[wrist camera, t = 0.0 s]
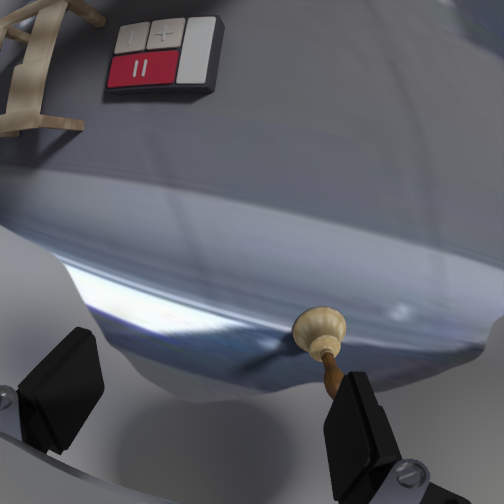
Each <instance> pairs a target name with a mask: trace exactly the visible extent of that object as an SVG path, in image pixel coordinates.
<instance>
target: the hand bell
mask: <svg viewBox="0 0 504 504" xmlns="http://www.w3.org/2000/svg"><path fill="white" fill-rule="evenodd" d="M345 333H346V322H345V319H344V317H343V316H342V315H341V314H340V313H339V312H338V311H337V310H335V309H333V308H330V307H316V308H312V309H310V310H308V311H306V312H304V313H303V314H302V315H301V316H300V317H299V318H298V319H297V321H296V322H295V324H294V328H293V338H294V341H295V342H296V344H297V345H298V346H299V347H300V348H301V349H303V350H304V351H306V352H309V353H310V355H311V357H312V358H313V359H315V360H317V361H320V362H323V365H324V367H325V374H324V384H325V388H326V391H327V393H328V394H329V396H330V397H331V398H332V399H333V400H334V399H335V396H336V394H337V391H338V388H339V386H340V383H341V381H342V378H343V376H344V374H343V373H342V371H341V370H340V369H339V368H338V367H337V365H336V362H335V357H336V356H337V354H338V353H339V351H340V342H341V341H342V340H343V338H344V336H345Z"/></svg>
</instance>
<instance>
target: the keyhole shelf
mask: <svg viewBox="0 0 504 504" xmlns="http://www.w3.org/2000/svg"><path fill="white" fill-rule="evenodd" d="M66 8H67V9H69V10H71V11H72V12H74V13H75V14H77V15H78V16H80V17H82V18H83V19H85V20H86V21H88V22H89V23H91V24H92V25H94V26H95V27H97V28H98V27H102V26H105V23H106V18H105V17H104V16H103V15H101V14H100V13H99V12H97V11H96V10H95V9H93V8H92V7H91V6H89V5H88V4H86V3H85V2H84V1H82V0H38V1H36V2H33V3H31V4H29V5H27V6H25V7H23V8H21V9H19V10H17V11H15V12H13V13H11V14H9V15H7V16H5V17H3V18H1V19H0V51H1V47H2V44H3V41H4V38H5V37H6V38H9V39H12V40H15V41H18V42H21V43H24V44H27V45H28V46H27V49H26V53H25V56H24V60H23V64H20V65H18V66H15V68H14V72H13V76H12V81H11V86H10V91H9V96H8V102H7V108H6V114H3V115H0V137H18V136H19V130H26V129H34V128H50V129H62V130H72V131H83V130H84V122H85V121H82V120H76V119H69V118H63V117H56V116H48V115H40V110H41V104H42V98H43V92H44V87H45V82H46V77H47V73H48V68H49V64H50V60H51V56H52V52H53V48H54V45H55V41H56V38H57V34H58V31H59V28H60V25H61V22H62V19H63V16H64V13H65V10H66ZM36 15H37V18H36V21H35V24H34V27H33V30H32V33H31V34H29V33H26V32H23V31H21V30H18V29H16V28H13V27H11V26H13V25H15V24H17V23H20V22H22V21H24V20H26V19H28V18H31V17H33V16H36Z"/></svg>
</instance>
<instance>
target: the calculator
mask: <svg viewBox="0 0 504 504" xmlns="http://www.w3.org/2000/svg"><path fill="white" fill-rule="evenodd" d="M224 29H225V26H224V24H223V22H222V20H221V18H220V16H218V15H206V16H188V17H176V18H166V19H158V20H150V21H143V22H137V23H131V24H126V25H122V26H121V27H120V29H119V33H118V37H117V41H116V45H115V49H114V54H113V58H112V63H111V68H110V73H109V78H108V83H107V91H108V92H110V93H113V94H116V95H123V94H139V93H163V92H183V93H213V92H214V91H215V85H216V78H217V71H218V65H219V59H220V52H221V46H222V40H223V35H224Z"/></svg>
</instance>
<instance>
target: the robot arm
mask: <svg viewBox="0 0 504 504" xmlns="http://www.w3.org/2000/svg"><path fill="white" fill-rule="evenodd" d="M18 388H19V389H18V390H17V391H15V390H14V389H13V388H12V387H10V386H7V385H0V504H183V503H178V502H174V501H170V500H166V499H162V498H158V497H154V496H150V495H147V494H143V493H140V492H137V491H134V490H130V489H127V488H124V487H121V486H118V485H116V484H113V483H110V482H107V481H104V480H102V479H99V478H97V477H94V476H92V475H89V474H87V473H85V472H82V471H80V470H78V469H76V468H73V467H71V466H69V465H67V464H65V463H63V462H61V461H58V460H56V459H54V458H52V457H50V456H48V455H47V451H48V450H51V451H53V452H55V453H57V454H59V455H61V454H62V452H63V451H64V450H67V449H68V448H69V446H70V445H71V443H72V442H73V440H74V439H75V437H76V435H77V434H78V432H79V431H80V429H81V427H82V426H83V424H84V422H85V421H86V419H87V418H88V416H89V414H90V413H91V411H92V410H93V408H94V407H95V405H96V404H97V402H98V401H99V399H100V398H101V396H102V394H103V392H104V381H103V377H102V372H101V367H100V362H99V356H98V351H97V345H96V339H95V336H94V335H92V332H91V331H90V330H88V329H84V328H81V327H76V328H75V329H74V330H73V331H72V332H70V333H69V335H67V336H66V338H64V339H63V340H62V341H61V342H60V343H59V344H58V345H57V346H56V347H55V348H54V349H53V350H52V351H51V352H50V353H49V354H48V355H47V356H46V357H45V358H44V359H43V360H42V361H41V362H40V363H39V364H38V365H37V366H36V367H35V368H34V369H33V370H32V371H31V373H29V375H28V376H27V377H26V378H25V379H24V380H23V381H22V382H21V383H20V384H19V385H18ZM323 428H324V429H323V430H324V437H325V443H326V450H327V456H328V463H329V470H330V477H331V484H332V491H333V498H334V500H335V501H338V502H339V504H471V503H470V501H469V500H467V499H465V498H463V497H461V496H459V495H457V494H454V493H452V492H450V491H448V490H446V489H444V488H441V487H439V486H437V485H435V484H433V483H431V482H430V472H429V470H428V468H427V467H426V466H425V465H424V464H423V463H422V462H420V461H418V460H415V459H402V457H401V454H400V451H399V448H398V445H397V443H396V440H395V437H394V435H393V432H392V429H391V427H390V424H389V422H388V419H387V417H386V414H385V411H384V409H383V407H382V406H379V405H378V402H377V400H376V397H375V395H374V392H373V390H372V387H371V384H370V382H369V379H368V377H367V375H366V373H365V372H352V371H351V372H349V373H348V375H344V376H343V378H342V381H341V383H340V386H339V388H338V391H337V394H336V396H335V399H334V401H333V403H332V406H331V408H330V411H329V413H328V415H327V418H326V420H325V423H324V427H323Z"/></svg>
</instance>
